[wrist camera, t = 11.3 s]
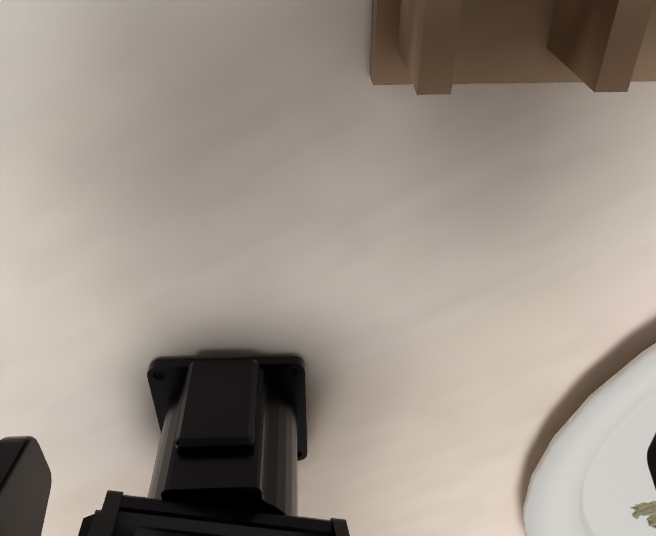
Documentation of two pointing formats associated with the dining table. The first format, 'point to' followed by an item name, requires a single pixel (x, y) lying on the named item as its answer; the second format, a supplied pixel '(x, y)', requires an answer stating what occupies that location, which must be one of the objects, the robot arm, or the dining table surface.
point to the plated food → (600, 462)
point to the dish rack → (512, 42)
